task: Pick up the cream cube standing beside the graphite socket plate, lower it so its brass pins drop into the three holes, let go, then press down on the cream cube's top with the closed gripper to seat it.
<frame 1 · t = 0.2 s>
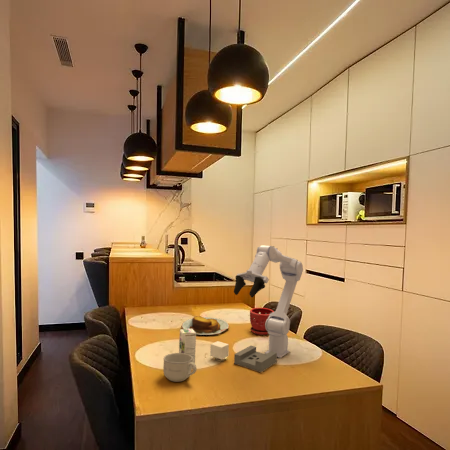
hand: (242, 294, 130), 31 cm above the table, fingers open, 7 cm apart
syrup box: (186, 366, 136), on the table
socket: (255, 362, 141), on the table
teacup: (180, 380, 125), on the table
plant pot: (261, 332, 181), on the table
cream cube: (219, 359, 144), on the table
food on plate: (205, 329, 185), on the table
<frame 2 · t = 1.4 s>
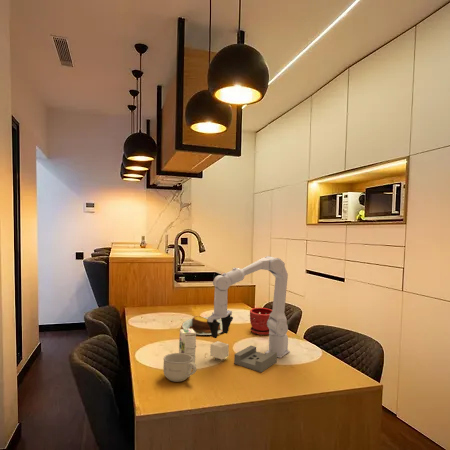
hand: (219, 335, 144), 10 cm above the table, fingers open, 7 cm apart
nothing on the table moved.
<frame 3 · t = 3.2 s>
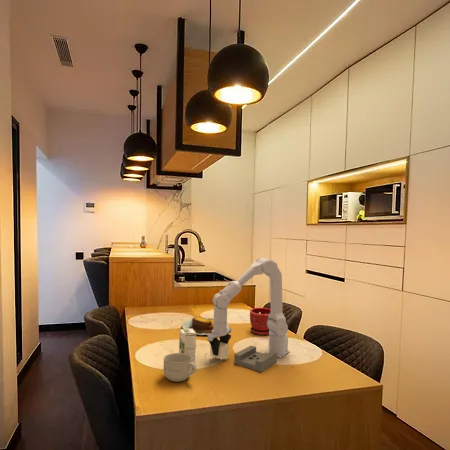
hand: (219, 353, 144), 3 cm above the table, fingers closed on cream cube, 5 cm apart
cream cube: (219, 359, 144), on the table, touching gripper
everything else where it was.
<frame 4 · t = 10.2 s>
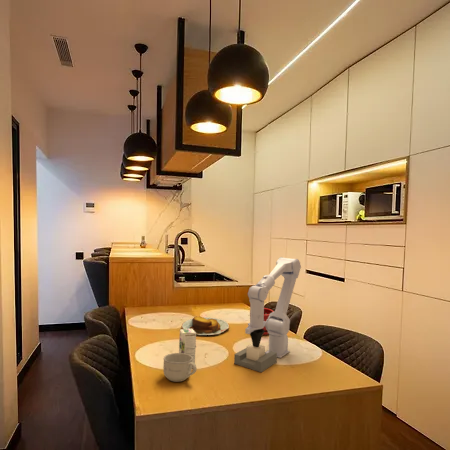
hand: (256, 346, 141), 7 cm above the table, fingers closed, pressing on cream cube
cream cube: (255, 361, 141), resting in socket, touching gripper
everything else where it was.
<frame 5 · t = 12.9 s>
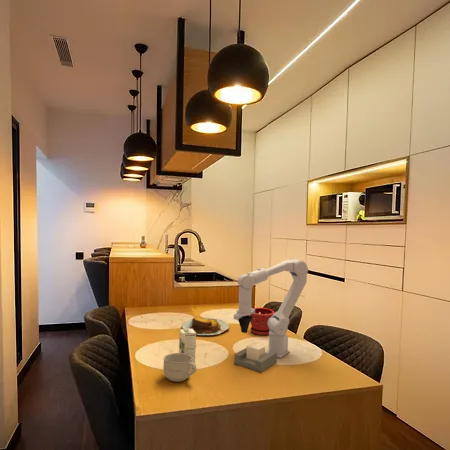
hand: (244, 332, 148), 10 cm above the table, fingers closed
cream cube: (255, 361, 141), resting in socket
everything else where it was.
at the end: cream cube 0.1 cm off-centre on the socket, point 0.5 cm above the socket's base; cream cube tilted 0°; the gripper is holding nothing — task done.
